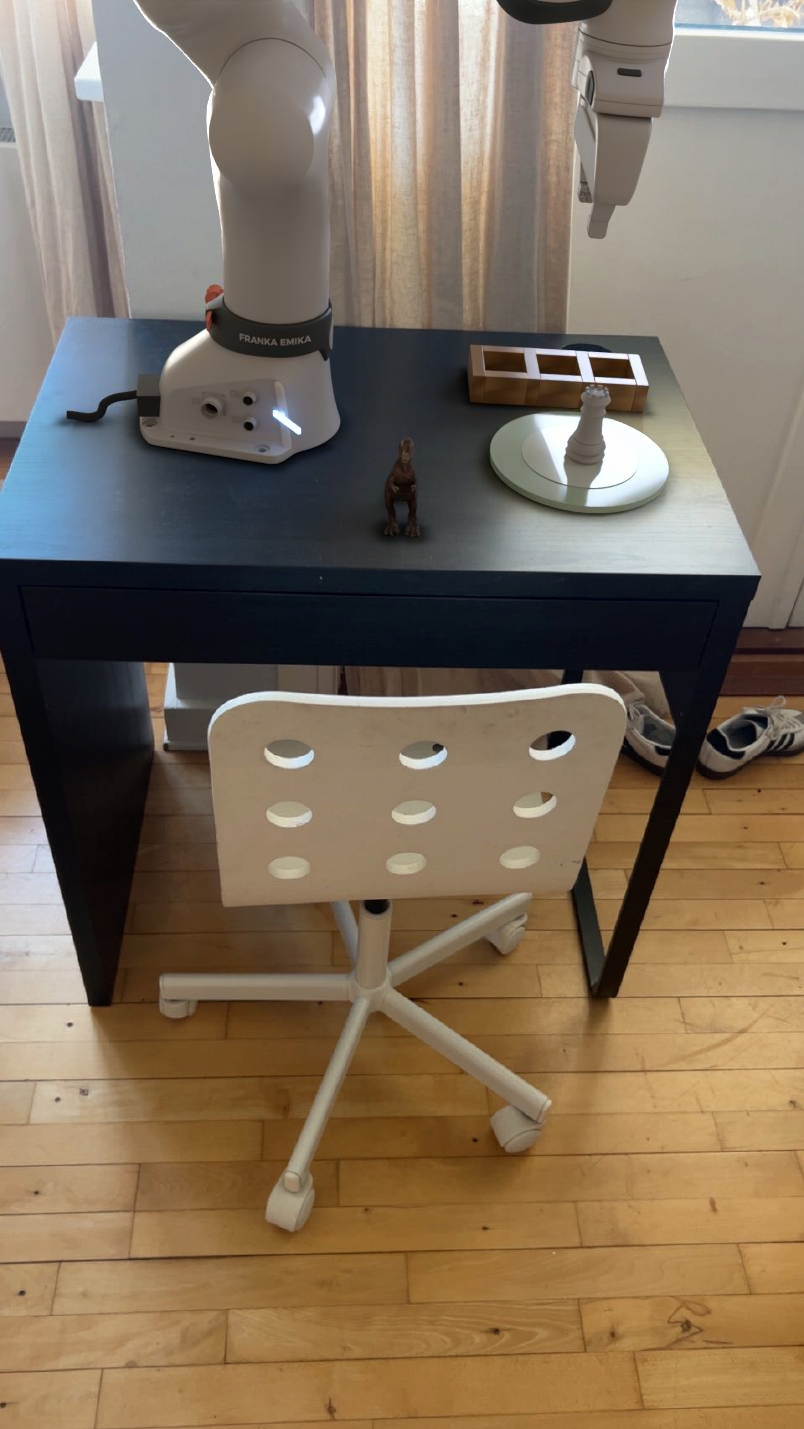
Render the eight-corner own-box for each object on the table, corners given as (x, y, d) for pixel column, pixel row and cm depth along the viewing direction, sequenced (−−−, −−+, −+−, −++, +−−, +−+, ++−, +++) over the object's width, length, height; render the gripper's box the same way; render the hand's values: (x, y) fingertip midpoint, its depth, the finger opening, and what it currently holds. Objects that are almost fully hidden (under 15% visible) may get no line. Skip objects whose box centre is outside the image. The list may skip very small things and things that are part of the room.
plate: (494, 511, 122) (496, 500, 121) (484, 415, 137) (485, 405, 136) (681, 521, 123) (684, 511, 122) (651, 425, 138) (653, 415, 137)
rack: (470, 402, 139) (473, 375, 137) (467, 370, 145) (470, 344, 142) (643, 412, 140) (649, 386, 138) (633, 380, 146) (639, 354, 143)
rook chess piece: (557, 457, 129) (569, 391, 123) (575, 440, 131) (588, 375, 126) (593, 471, 127) (606, 404, 122) (611, 454, 130) (625, 389, 124)
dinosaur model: (393, 445, 108) (390, 377, 119) (380, 553, 115) (378, 479, 127) (436, 449, 108) (428, 380, 119) (420, 556, 116) (415, 482, 127)
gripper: (574, 35, 116) (551, 178, 126) (597, 97, 101) (568, 255, 111) (637, 41, 116) (608, 184, 126) (668, 104, 102) (633, 260, 111)
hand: (590, 217), depth 118 cm, fingers open, 8 cm apart
